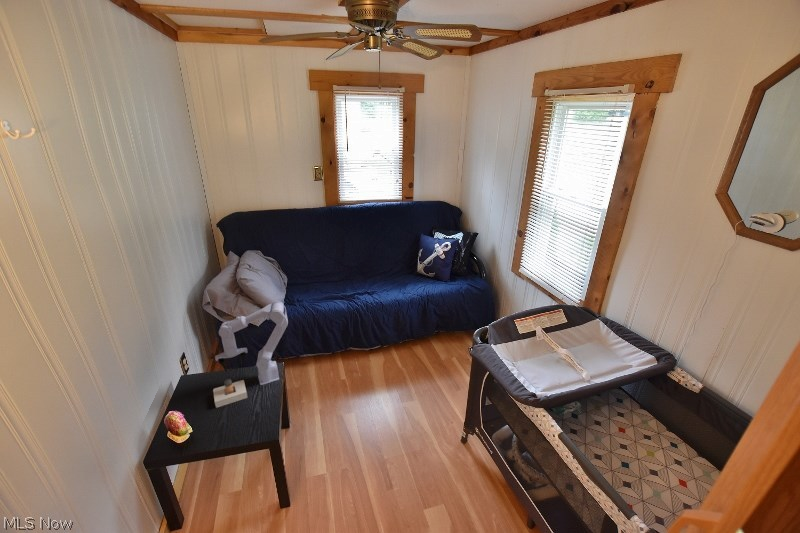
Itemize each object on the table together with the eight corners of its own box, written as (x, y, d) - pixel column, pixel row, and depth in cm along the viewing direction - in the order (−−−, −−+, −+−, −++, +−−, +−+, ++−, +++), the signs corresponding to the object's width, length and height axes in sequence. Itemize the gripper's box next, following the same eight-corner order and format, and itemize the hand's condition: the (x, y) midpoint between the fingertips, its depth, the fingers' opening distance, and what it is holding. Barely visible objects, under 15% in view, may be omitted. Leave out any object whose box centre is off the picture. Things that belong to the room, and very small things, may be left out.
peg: (235, 393, 181) (232, 378, 178) (233, 398, 178) (230, 383, 175) (228, 394, 181) (224, 379, 177) (226, 399, 178) (223, 384, 174)
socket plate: (244, 385, 187) (243, 379, 185) (247, 397, 179) (246, 392, 177) (214, 394, 180) (213, 388, 179) (216, 407, 172) (214, 402, 171)
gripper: (244, 337, 186) (248, 359, 191) (212, 345, 179) (217, 367, 185) (246, 344, 180) (250, 366, 186) (213, 352, 174) (219, 375, 179)
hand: (234, 367), depth 185 cm, fingers open, 7 cm apart
